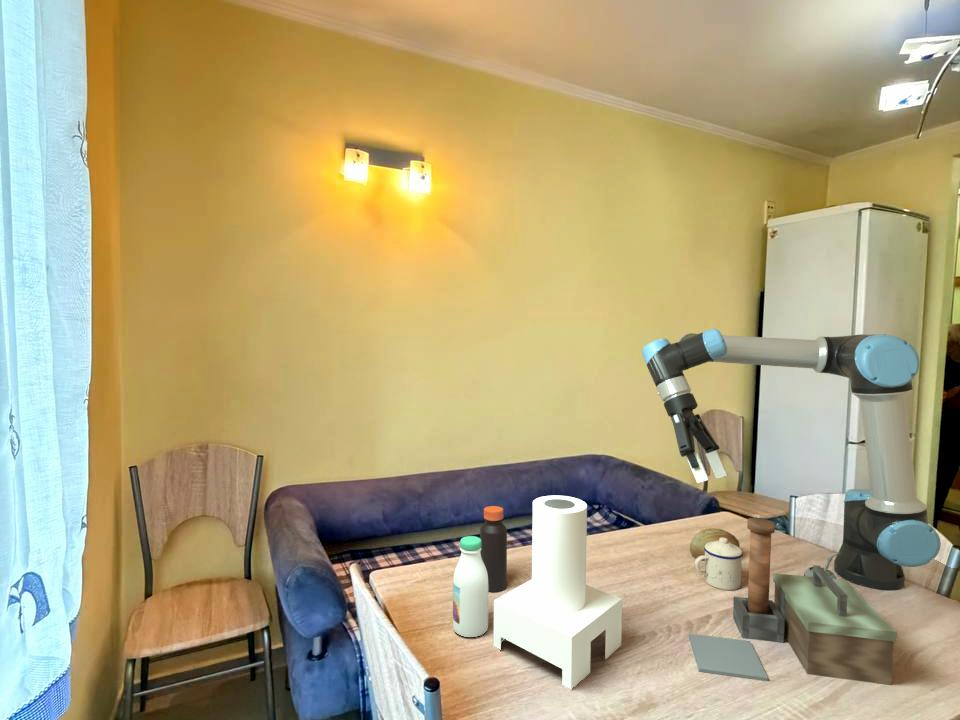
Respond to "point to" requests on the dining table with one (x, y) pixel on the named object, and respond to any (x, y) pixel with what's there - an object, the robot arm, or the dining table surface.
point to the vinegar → (494, 548)
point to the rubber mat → (726, 657)
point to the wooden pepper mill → (759, 564)
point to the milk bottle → (470, 590)
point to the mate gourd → (810, 570)
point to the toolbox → (824, 627)
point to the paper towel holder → (559, 595)
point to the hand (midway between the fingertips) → (713, 479)
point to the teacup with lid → (721, 564)
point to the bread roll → (709, 540)
